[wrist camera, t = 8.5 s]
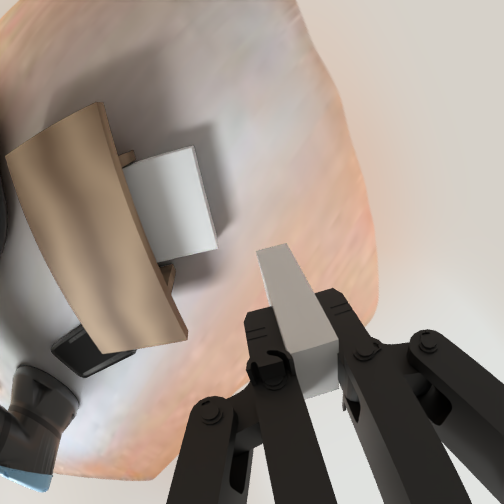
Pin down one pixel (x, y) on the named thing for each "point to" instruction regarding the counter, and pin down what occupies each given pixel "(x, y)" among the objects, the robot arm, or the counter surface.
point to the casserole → (2, 218)
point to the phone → (85, 353)
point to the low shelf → (95, 233)
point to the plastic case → (172, 204)
